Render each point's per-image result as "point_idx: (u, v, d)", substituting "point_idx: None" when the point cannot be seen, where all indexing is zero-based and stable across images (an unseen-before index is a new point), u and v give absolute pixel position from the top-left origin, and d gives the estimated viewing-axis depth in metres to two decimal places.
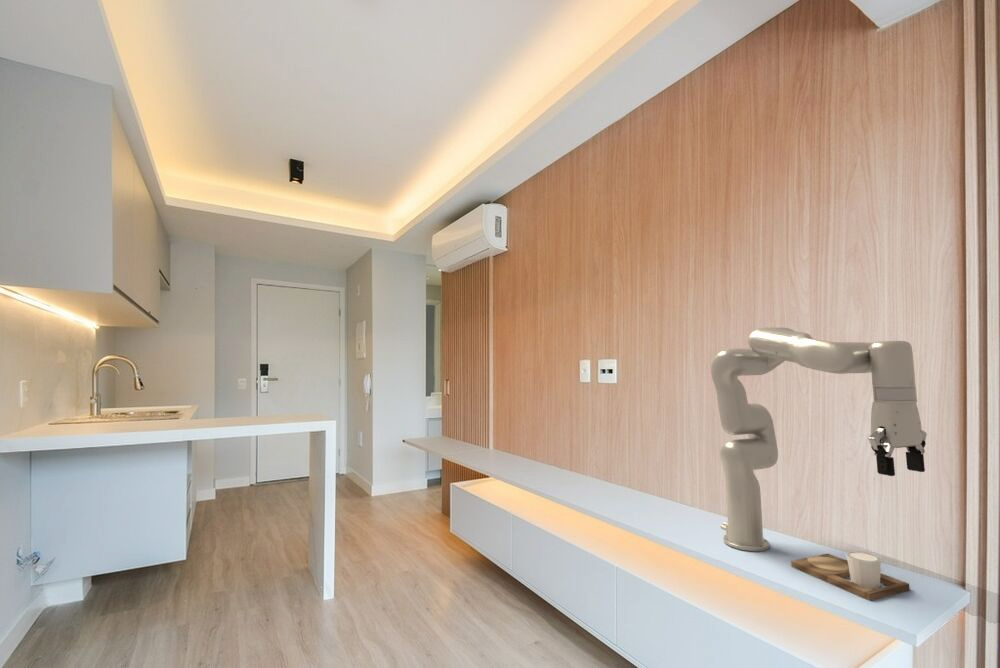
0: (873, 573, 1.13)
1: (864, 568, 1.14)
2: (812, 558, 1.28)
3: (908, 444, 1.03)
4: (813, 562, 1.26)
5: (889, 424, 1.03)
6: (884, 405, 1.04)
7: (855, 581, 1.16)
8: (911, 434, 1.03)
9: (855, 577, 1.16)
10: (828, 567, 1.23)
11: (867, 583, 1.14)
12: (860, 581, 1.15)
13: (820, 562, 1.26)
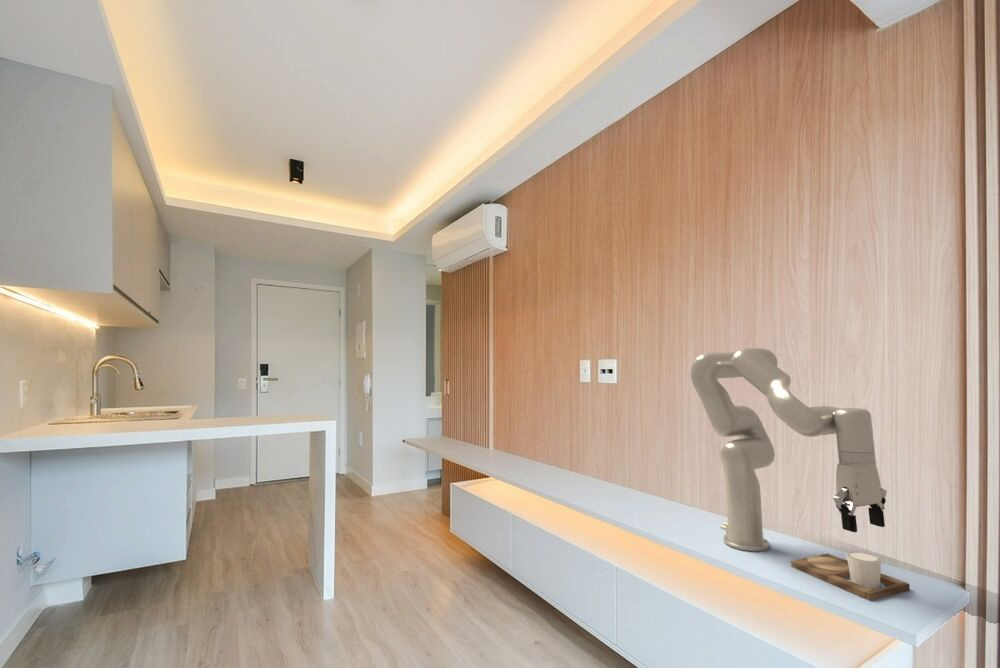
0: (873, 573, 1.13)
1: (865, 568, 1.14)
2: (812, 558, 1.28)
3: (869, 503, 1.15)
4: (813, 562, 1.26)
5: (851, 485, 1.15)
6: (847, 468, 1.16)
7: (855, 581, 1.16)
8: (871, 494, 1.16)
9: (855, 577, 1.16)
10: (828, 567, 1.23)
11: (867, 583, 1.14)
12: (860, 581, 1.15)
13: (820, 562, 1.26)
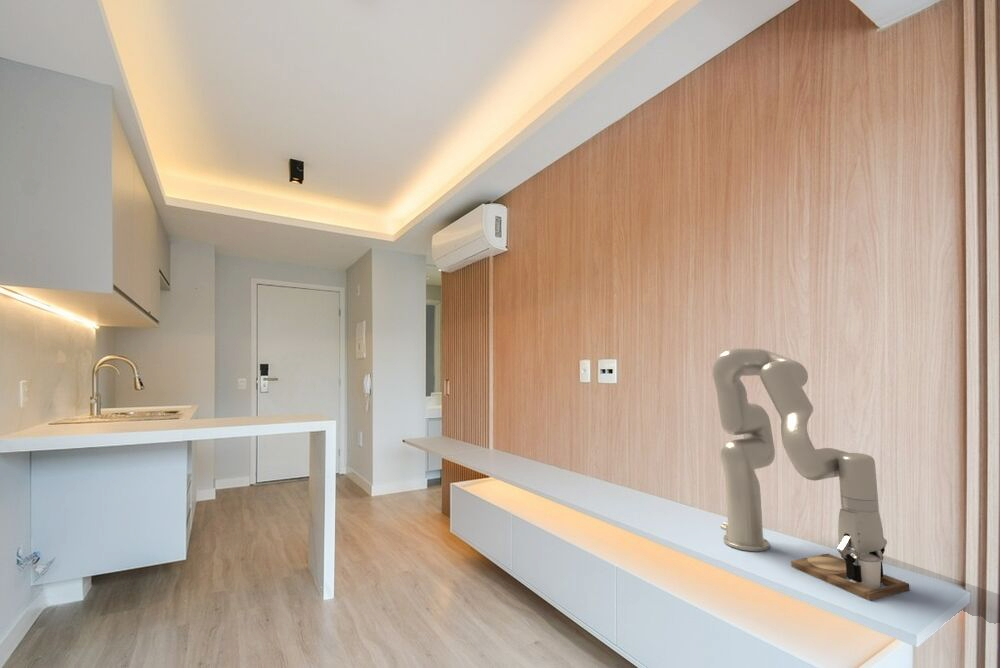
0: (873, 573, 1.13)
1: (865, 568, 1.14)
2: (812, 558, 1.28)
3: (870, 550, 1.15)
4: (813, 562, 1.26)
5: (853, 533, 1.14)
6: (850, 515, 1.15)
7: (855, 581, 1.16)
8: (873, 541, 1.15)
9: None
10: (828, 567, 1.23)
11: (867, 583, 1.14)
12: None
13: (820, 562, 1.26)
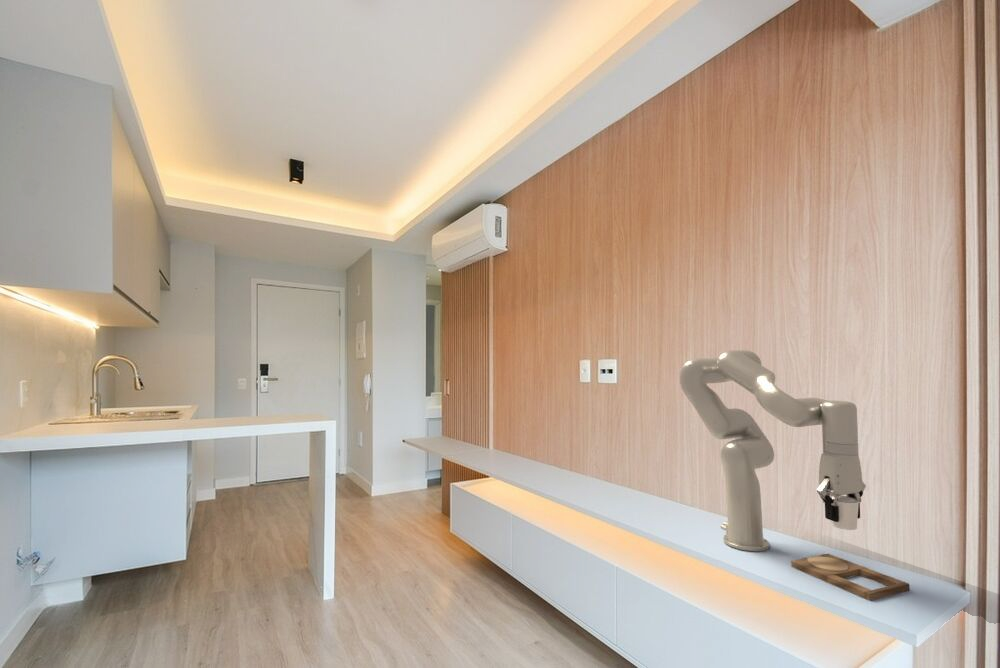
0: (851, 513, 1.18)
1: (842, 508, 1.19)
2: (812, 558, 1.28)
3: (849, 492, 1.20)
4: (813, 562, 1.26)
5: (833, 475, 1.19)
6: (830, 458, 1.20)
7: (833, 521, 1.21)
8: (852, 483, 1.20)
9: None
10: (828, 567, 1.23)
11: (844, 522, 1.19)
12: None
13: (820, 562, 1.26)
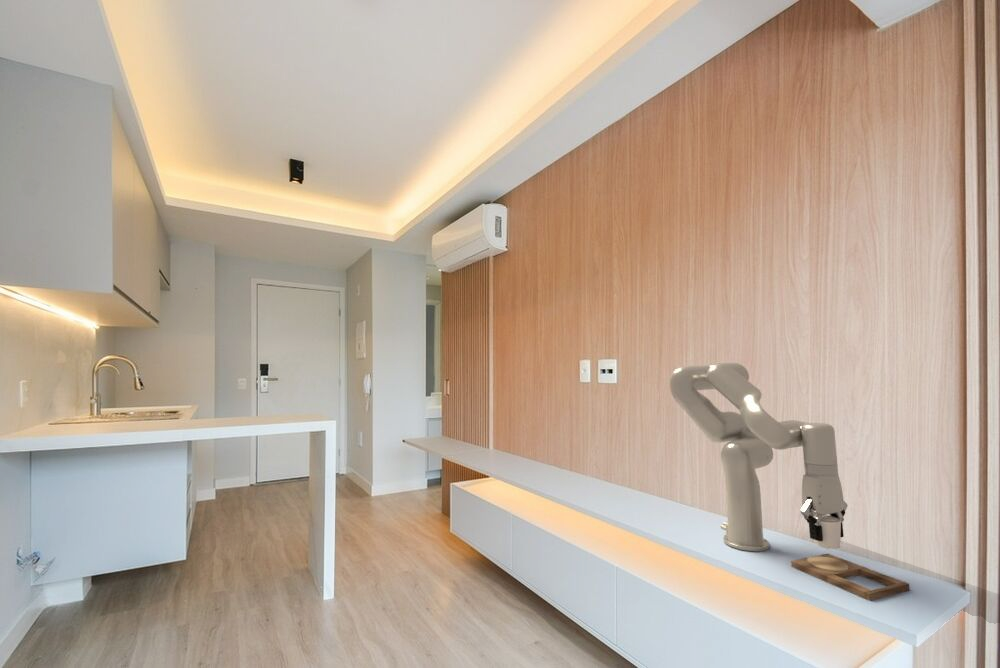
0: (833, 532, 1.23)
1: (825, 527, 1.23)
2: (812, 558, 1.28)
3: (831, 512, 1.24)
4: (813, 562, 1.26)
5: (815, 496, 1.24)
6: (812, 479, 1.25)
7: (817, 541, 1.25)
8: (833, 503, 1.24)
9: None
10: (828, 567, 1.23)
11: (828, 542, 1.23)
12: (821, 541, 1.24)
13: (820, 562, 1.26)
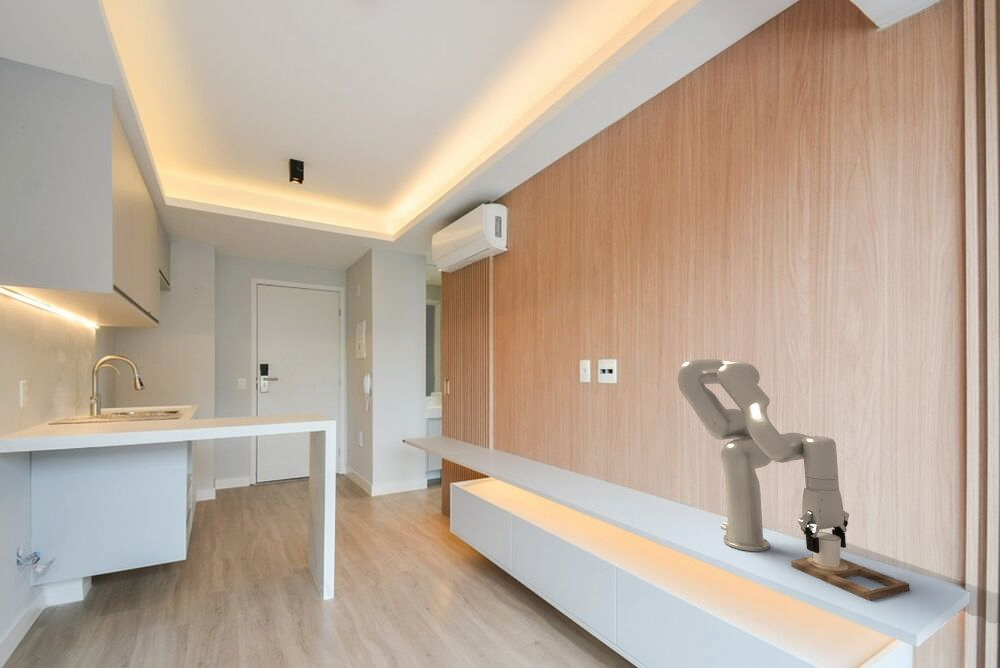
0: (833, 551, 1.23)
1: (825, 546, 1.23)
2: (812, 558, 1.28)
3: (831, 526, 1.24)
4: (813, 562, 1.26)
5: (815, 510, 1.23)
6: (812, 493, 1.25)
7: (817, 558, 1.25)
8: (834, 517, 1.24)
9: (817, 554, 1.25)
10: (828, 567, 1.23)
11: (827, 560, 1.23)
12: (821, 559, 1.24)
13: None
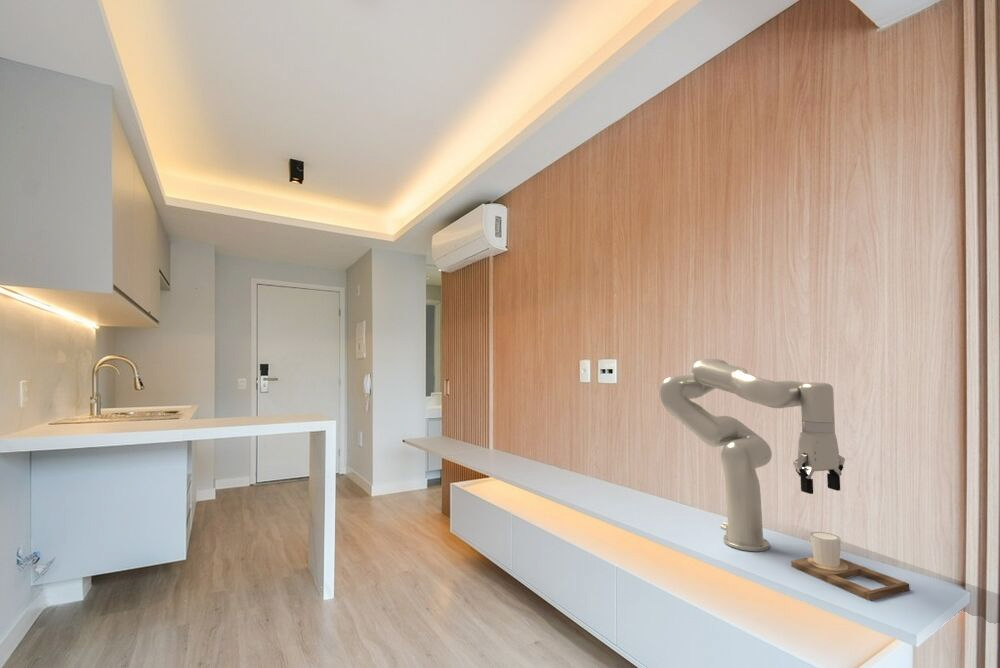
0: (833, 551, 1.23)
1: (825, 546, 1.23)
2: (812, 558, 1.28)
3: (826, 468, 1.27)
4: (813, 562, 1.26)
5: (810, 452, 1.26)
6: (808, 436, 1.27)
7: (817, 558, 1.25)
8: (829, 460, 1.27)
9: (817, 555, 1.25)
10: (828, 567, 1.23)
11: (827, 560, 1.23)
12: (821, 559, 1.24)
13: None
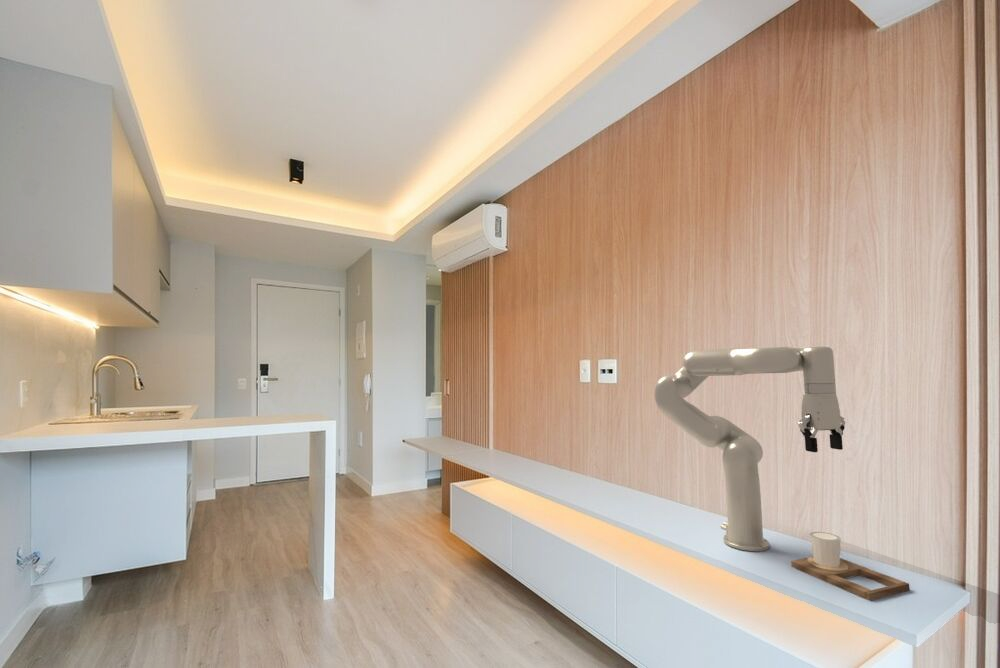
0: (833, 551, 1.23)
1: (825, 546, 1.23)
2: (812, 558, 1.28)
3: (829, 427, 1.32)
4: (813, 562, 1.26)
5: (814, 412, 1.31)
6: (811, 397, 1.32)
7: (817, 558, 1.25)
8: (831, 420, 1.32)
9: (817, 555, 1.25)
10: (828, 567, 1.23)
11: (827, 560, 1.23)
12: (821, 559, 1.24)
13: None
